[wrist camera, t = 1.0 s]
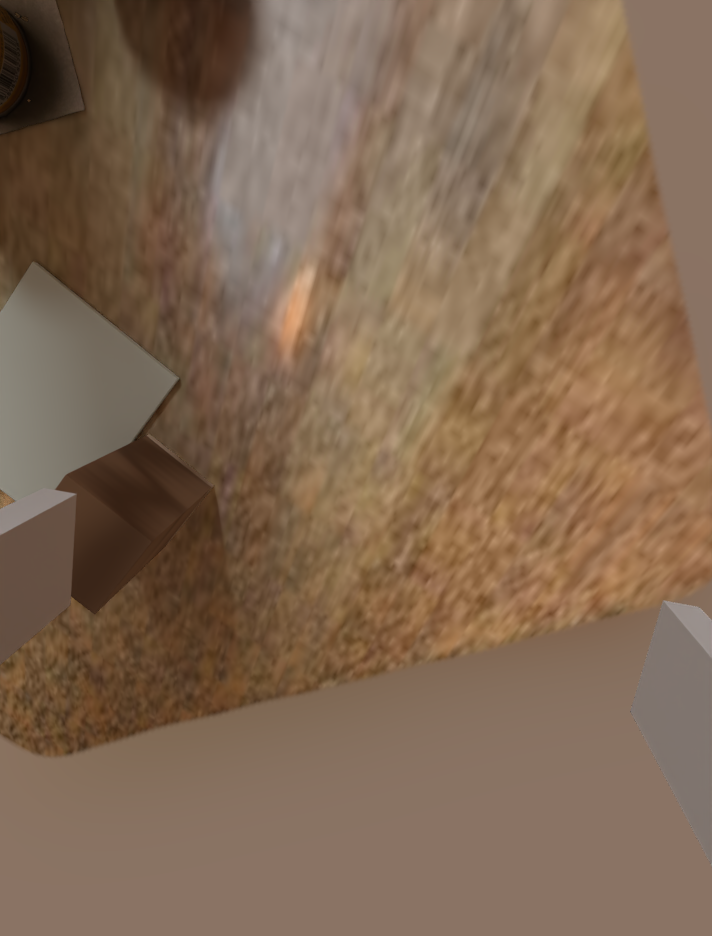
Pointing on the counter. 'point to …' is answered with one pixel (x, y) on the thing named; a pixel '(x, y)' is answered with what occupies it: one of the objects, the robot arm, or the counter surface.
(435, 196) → the counter surface
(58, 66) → the condiment
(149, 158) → the counter surface
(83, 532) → the block
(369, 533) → the counter surface
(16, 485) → the mat
